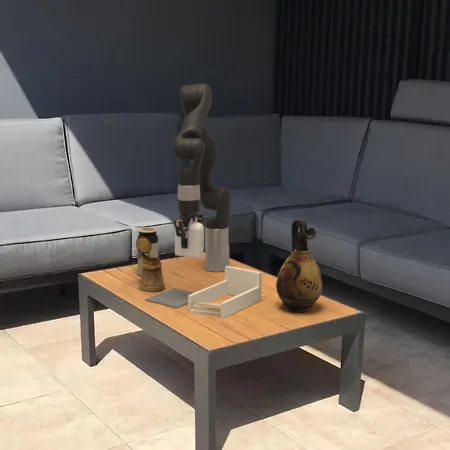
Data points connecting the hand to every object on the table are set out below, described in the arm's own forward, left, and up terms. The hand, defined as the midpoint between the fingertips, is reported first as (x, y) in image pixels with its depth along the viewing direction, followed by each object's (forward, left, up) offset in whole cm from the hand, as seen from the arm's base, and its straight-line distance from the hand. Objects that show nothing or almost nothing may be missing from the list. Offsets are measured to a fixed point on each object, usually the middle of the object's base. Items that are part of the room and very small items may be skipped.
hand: (189, 246), depth 245 cm
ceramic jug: (-15, +34, -19) cm, 42 cm away
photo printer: (0, 0, -4) cm, 4 cm away
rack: (-3, +13, -19) cm, 23 cm away
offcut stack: (+7, +13, -20) cm, 25 cm away
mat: (+2, -5, -19) cm, 20 cm away
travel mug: (-15, -32, -19) cm, 40 cm away
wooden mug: (-3, -21, -19) cm, 29 cm away
